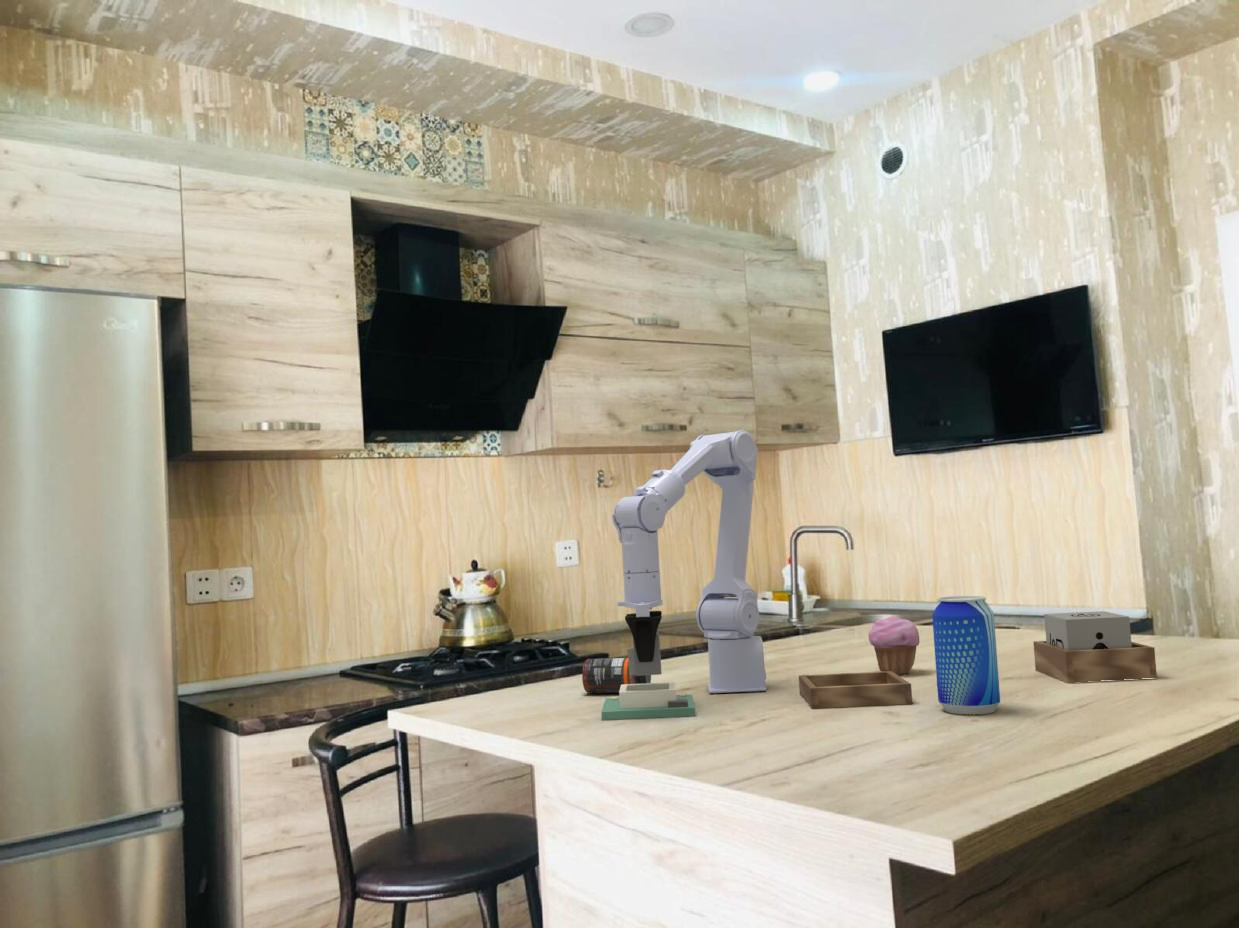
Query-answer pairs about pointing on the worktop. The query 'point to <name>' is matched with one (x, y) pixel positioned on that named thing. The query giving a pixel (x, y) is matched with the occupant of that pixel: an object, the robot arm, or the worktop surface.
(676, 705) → the board
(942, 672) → the beer can
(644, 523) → the robot arm
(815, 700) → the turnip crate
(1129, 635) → the icon cube
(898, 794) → the worktop surface
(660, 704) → the frame
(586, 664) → the supplement bottle
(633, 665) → the plug
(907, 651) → the cupcake
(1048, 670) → the cube crate
